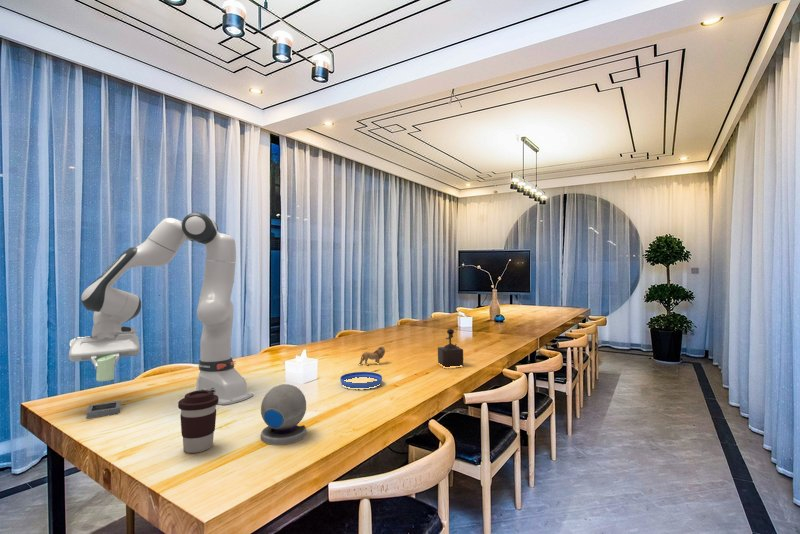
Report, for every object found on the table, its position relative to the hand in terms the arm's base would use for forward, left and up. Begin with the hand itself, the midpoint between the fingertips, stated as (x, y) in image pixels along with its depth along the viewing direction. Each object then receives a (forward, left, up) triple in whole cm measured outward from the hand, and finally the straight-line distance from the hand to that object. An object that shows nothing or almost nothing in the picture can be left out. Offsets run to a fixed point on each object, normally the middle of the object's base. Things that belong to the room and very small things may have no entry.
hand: (105, 367), depth 137 cm
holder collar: (+1, 0, -16) cm, 16 cm away
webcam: (-68, -14, -16) cm, 72 cm away
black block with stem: (-80, -122, -16) cm, 147 cm away
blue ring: (-59, -70, -16) cm, 93 cm away
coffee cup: (-53, +3, -16) cm, 56 cm away
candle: (+1, 0, -5) cm, 5 cm away
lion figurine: (-44, -105, -16) cm, 115 cm away
